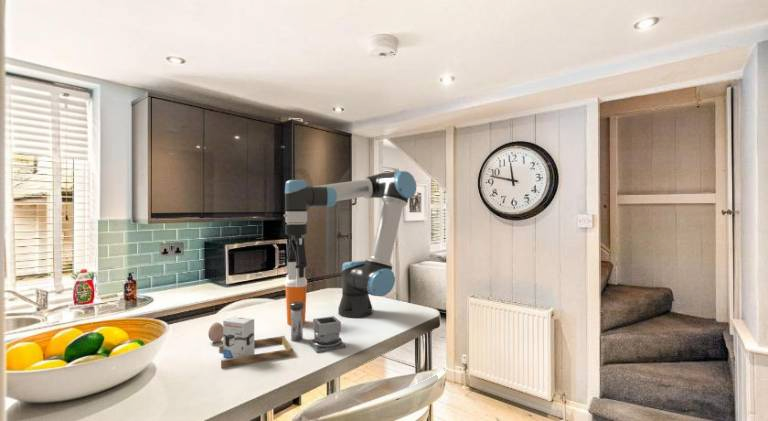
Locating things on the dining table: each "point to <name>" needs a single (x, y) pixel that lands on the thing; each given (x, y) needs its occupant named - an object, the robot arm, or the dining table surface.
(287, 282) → the shaker bottle
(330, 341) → the peg socket
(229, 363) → the bay
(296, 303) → the handle peg
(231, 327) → the ink box
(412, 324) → the dining table surface
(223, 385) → the dining table surface
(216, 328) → the egg
